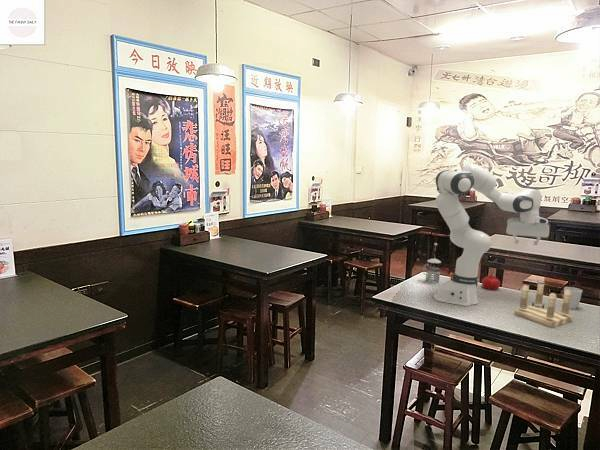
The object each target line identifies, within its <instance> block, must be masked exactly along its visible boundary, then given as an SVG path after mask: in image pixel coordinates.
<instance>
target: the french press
mask: <svg viewBox="0 0 600 450" xmlns="http://www.w3.org/2000/svg"><path fill="white" fill-rule="evenodd" d="M433 244H434V245H435V246H434V245H433V246H434V250H436V249H437V248H436V247H437V246H438V243H437V242H434V243H433ZM426 262H427V263H426V264H424V265H423V268H422V269H423V271H422V273H423V274H424V275H425V280H424V281H423V283H424V284H425V285H428V286H433V287H434V286H436V287H437V286H441V285H442V284H441V283H440V275H441V270H440V267H438V266H434V265H435V264H442V261H441V260H439V259H437V258H436V255H434V258H430V259H427V261H426ZM430 264H434V265H433V266H431V265H430ZM426 267H427V269H426Z"/></svg>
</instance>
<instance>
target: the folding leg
mask: <svg viewBox="0 0 600 450" xmlns="http://www.w3.org/2000/svg"><path fill="white" fill-rule="evenodd" d="M545 283H546V282H545V281H544V280H538V281H537V288H536V294H535V301H534V304H536V305H543V303H542V302H543V295H544V289H545Z"/></svg>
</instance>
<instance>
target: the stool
mask: <svg viewBox="0 0 600 450" xmlns="http://www.w3.org/2000/svg"><path fill="white" fill-rule="evenodd" d="M529 290H530V287H529V286H528V285H527V284H524V285H522V289H521V297H520V304H519V308H517V309H514V313H513V314H514V316H517V317H520V318H522V319H525V320H528V321H531V322H534V323H535V324H539V325H543V326H545V327H547V328H550V329H551V328H556V327H559V326H562V325H565V324H569V323H572V322H573V319H574V316H572V315H569V314H570V309H569V307H570V300H571V293H572V292H571V290H569V289H567V290H565V293H564V292H563V300H562V307H561V312H560V311H557V310H556V309H555V308H556V302H557V294H556V293H555V292H550V294H549V295H548V303H547V307H546V306H545V304H543V303H542V304H541V305H540V304H535V301H534V302H531V305H527V304H528V298H529V297H528V296H529V292H530V291H529Z"/></svg>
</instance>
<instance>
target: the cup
mask: <svg viewBox="0 0 600 450" xmlns="http://www.w3.org/2000/svg"><path fill="white" fill-rule="evenodd" d="M567 289H569V290H571V292H572V293H571V300H570V307H569V310H577V308H578V306H579V305H580V301H581V300H582V295H583V289H581V288H577V287H572V286H565V287H563V294H564V293H565V290H567Z"/></svg>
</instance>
